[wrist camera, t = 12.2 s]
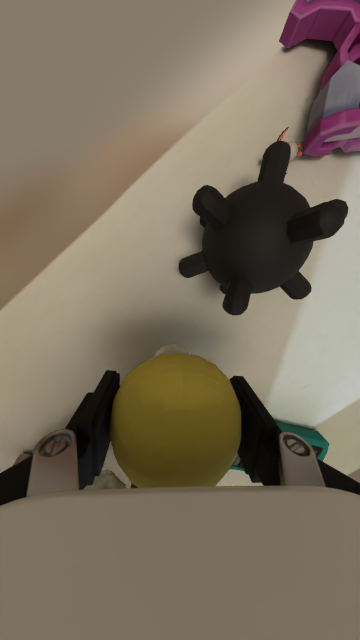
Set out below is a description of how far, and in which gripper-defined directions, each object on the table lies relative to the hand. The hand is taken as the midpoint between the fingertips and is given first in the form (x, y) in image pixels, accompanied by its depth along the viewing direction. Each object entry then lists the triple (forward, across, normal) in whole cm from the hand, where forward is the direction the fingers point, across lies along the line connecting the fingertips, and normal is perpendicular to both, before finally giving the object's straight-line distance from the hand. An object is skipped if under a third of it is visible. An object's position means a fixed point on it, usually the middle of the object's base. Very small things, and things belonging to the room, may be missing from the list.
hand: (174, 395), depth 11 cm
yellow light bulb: (+5, 0, 0) cm, 5 cm away
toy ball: (+10, -6, -10) cm, 15 cm away
